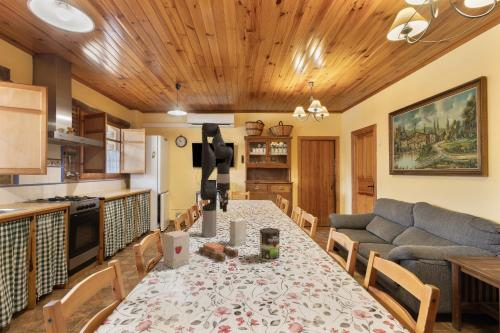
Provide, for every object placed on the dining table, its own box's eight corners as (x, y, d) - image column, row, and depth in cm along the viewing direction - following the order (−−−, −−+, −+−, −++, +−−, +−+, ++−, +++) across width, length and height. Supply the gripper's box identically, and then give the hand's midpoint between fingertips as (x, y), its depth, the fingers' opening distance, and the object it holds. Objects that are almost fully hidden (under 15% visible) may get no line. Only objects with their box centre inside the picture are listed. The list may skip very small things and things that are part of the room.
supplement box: (173, 269, 117) (173, 236, 117) (162, 264, 123) (162, 233, 123) (190, 264, 124) (190, 232, 124) (179, 259, 130) (179, 229, 130)
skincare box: (240, 241, 160) (240, 217, 160) (246, 244, 155) (246, 219, 155) (229, 244, 155) (229, 219, 155) (235, 247, 150) (235, 221, 150)
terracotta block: (203, 251, 141) (203, 244, 141) (212, 249, 145) (212, 242, 145) (214, 256, 134) (214, 248, 134) (223, 253, 138) (223, 245, 138)
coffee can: (283, 259, 130) (283, 231, 130) (266, 262, 126) (266, 233, 126) (272, 253, 140) (272, 227, 140) (255, 256, 135) (255, 229, 135)
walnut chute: (198, 252, 140) (198, 245, 140) (214, 248, 147) (214, 241, 147) (222, 262, 126) (222, 254, 126) (238, 257, 133) (238, 249, 133)
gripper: (214, 181, 152) (214, 208, 152) (219, 183, 138) (218, 213, 139) (226, 180, 154) (226, 208, 154) (232, 182, 141) (232, 212, 141)
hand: (223, 210), depth 147 cm, fingers open, 8 cm apart
